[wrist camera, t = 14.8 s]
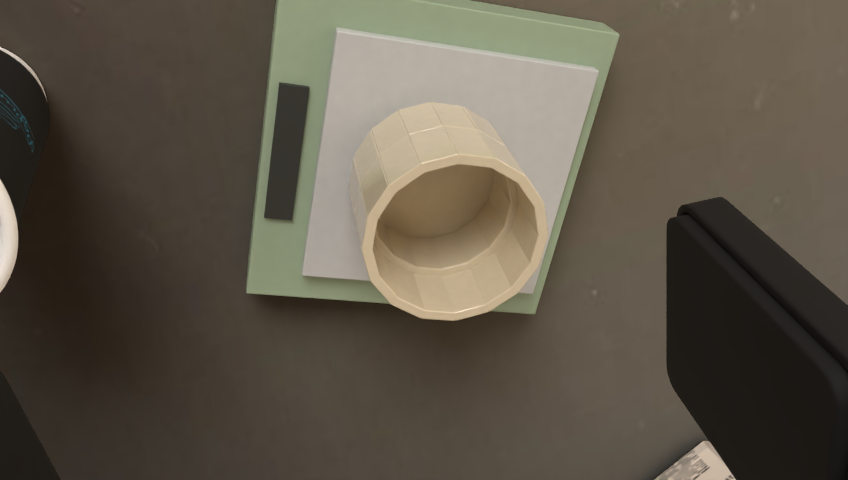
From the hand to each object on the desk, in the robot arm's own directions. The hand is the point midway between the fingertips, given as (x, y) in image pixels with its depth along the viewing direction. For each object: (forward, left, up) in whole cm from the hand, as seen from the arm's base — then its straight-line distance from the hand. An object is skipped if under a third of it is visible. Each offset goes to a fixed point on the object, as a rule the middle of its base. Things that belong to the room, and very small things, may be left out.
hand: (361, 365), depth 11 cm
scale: (+6, -6, -24) cm, 26 cm away
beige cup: (+6, -6, -22) cm, 23 cm away
